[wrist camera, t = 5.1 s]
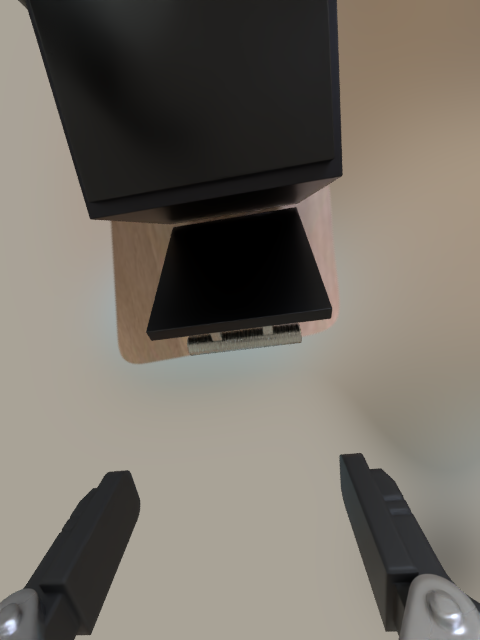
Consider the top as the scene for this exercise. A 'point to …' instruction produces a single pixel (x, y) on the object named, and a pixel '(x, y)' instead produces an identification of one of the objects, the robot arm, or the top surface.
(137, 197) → the oven
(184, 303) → the oven door
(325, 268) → the top surface
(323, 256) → the top surface
